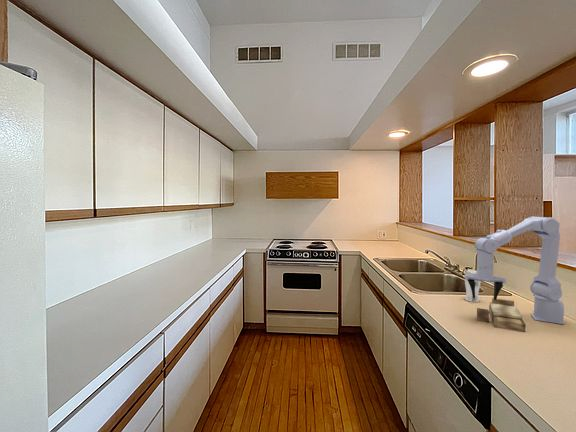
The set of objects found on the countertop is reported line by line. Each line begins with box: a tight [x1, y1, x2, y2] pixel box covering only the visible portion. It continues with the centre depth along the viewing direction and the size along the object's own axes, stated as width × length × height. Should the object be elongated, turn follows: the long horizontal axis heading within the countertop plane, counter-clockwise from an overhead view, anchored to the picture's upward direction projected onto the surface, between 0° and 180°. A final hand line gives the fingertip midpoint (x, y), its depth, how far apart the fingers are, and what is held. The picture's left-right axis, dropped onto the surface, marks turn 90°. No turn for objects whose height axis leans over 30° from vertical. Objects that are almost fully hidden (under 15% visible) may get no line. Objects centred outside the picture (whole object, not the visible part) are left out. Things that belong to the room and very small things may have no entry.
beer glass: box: [464, 269, 482, 303], centre depth 156 cm, size 7×7×15 cm
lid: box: [489, 297, 523, 319], centre depth 131 cm, size 10×15×3 cm, turn 152°
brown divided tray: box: [488, 304, 526, 333], centre depth 130 cm, size 10×20×3 cm, turn 152°
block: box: [476, 307, 490, 324], centre depth 130 cm, size 4×4×4 cm
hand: (484, 298), depth 130 cm, fingers open, 7 cm apart
